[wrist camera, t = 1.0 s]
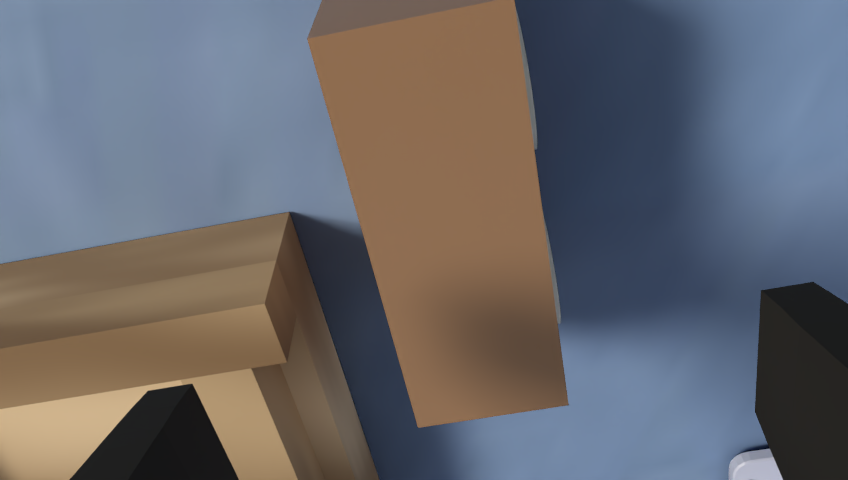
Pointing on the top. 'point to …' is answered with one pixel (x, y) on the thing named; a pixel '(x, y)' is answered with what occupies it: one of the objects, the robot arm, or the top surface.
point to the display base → (176, 352)
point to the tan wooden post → (447, 197)
